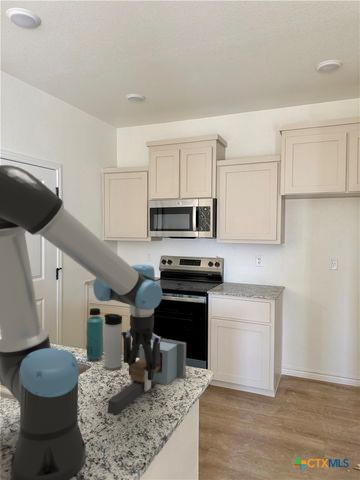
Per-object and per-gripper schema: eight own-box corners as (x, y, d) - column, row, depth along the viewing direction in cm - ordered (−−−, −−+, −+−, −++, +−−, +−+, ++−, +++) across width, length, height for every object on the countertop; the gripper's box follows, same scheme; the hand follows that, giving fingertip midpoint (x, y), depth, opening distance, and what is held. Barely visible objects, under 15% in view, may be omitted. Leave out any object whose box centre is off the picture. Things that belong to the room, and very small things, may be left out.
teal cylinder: (105, 356, 134) (106, 307, 133) (99, 363, 127) (100, 311, 126) (89, 355, 134) (90, 306, 134) (83, 362, 128) (83, 310, 127)
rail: (116, 415, 92) (116, 402, 92) (108, 412, 93) (108, 400, 93) (148, 389, 107) (148, 378, 107) (141, 387, 108) (141, 376, 108)
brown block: (142, 382, 102) (142, 368, 102) (130, 379, 104) (130, 365, 104) (164, 365, 114) (164, 352, 114) (153, 362, 116) (153, 350, 116)
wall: (183, 378, 115) (183, 344, 114) (143, 369, 122) (144, 337, 122) (185, 376, 117) (186, 342, 116) (146, 367, 124) (147, 335, 123)
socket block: (167, 385, 110) (167, 350, 109) (138, 378, 114) (139, 345, 114) (176, 376, 116) (177, 344, 116) (149, 370, 121) (150, 339, 120)
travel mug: (100, 367, 123) (100, 313, 123) (115, 362, 128) (116, 310, 127) (109, 372, 119) (109, 317, 118) (124, 367, 123) (125, 314, 122)
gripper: (172, 315, 104) (170, 388, 105) (125, 308, 112) (124, 377, 112) (160, 320, 97) (158, 399, 98) (112, 313, 105) (110, 386, 106)
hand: (140, 387), depth 105 cm, fingers closed on brown block, 4 cm apart
